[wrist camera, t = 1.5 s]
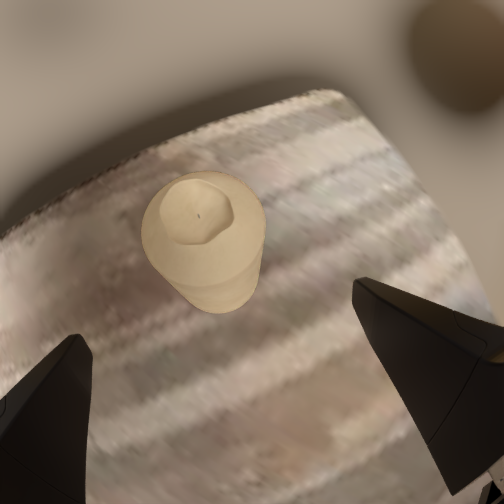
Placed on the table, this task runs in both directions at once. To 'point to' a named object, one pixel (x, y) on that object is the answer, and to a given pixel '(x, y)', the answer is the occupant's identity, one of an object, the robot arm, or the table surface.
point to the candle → (206, 239)
